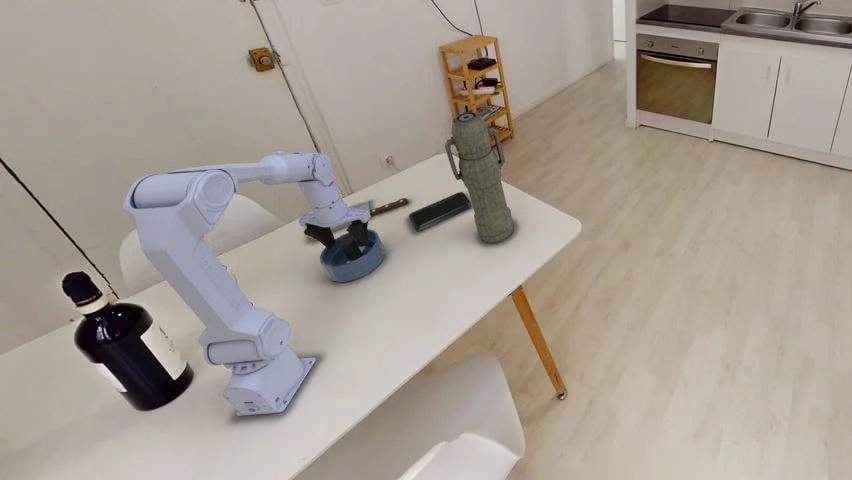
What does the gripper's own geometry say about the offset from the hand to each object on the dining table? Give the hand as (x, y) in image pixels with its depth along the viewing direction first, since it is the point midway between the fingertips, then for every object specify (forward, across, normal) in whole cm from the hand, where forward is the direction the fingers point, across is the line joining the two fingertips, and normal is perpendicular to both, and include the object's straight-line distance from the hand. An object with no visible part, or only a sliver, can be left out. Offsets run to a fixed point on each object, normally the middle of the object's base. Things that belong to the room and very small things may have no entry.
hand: (348, 244), depth 97 cm
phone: (+6, -14, -17) cm, 23 cm away
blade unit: (+6, 0, 0) cm, 6 cm away
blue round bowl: (+6, 0, 0) cm, 6 cm away
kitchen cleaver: (+6, +9, -18) cm, 21 cm away
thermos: (+7, -32, -8) cm, 34 cm away
